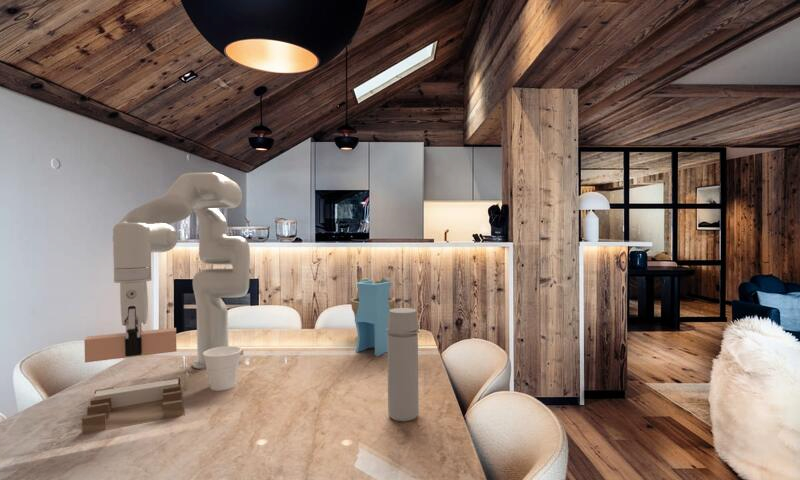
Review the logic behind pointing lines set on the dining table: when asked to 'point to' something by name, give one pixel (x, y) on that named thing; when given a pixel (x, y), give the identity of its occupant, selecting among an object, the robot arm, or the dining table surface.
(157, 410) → the rack
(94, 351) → the terracotta strip
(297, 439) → the dining table surface
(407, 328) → the water bottle
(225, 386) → the cup
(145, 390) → the grey strip
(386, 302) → the blue arched stand
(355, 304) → the potted plant
